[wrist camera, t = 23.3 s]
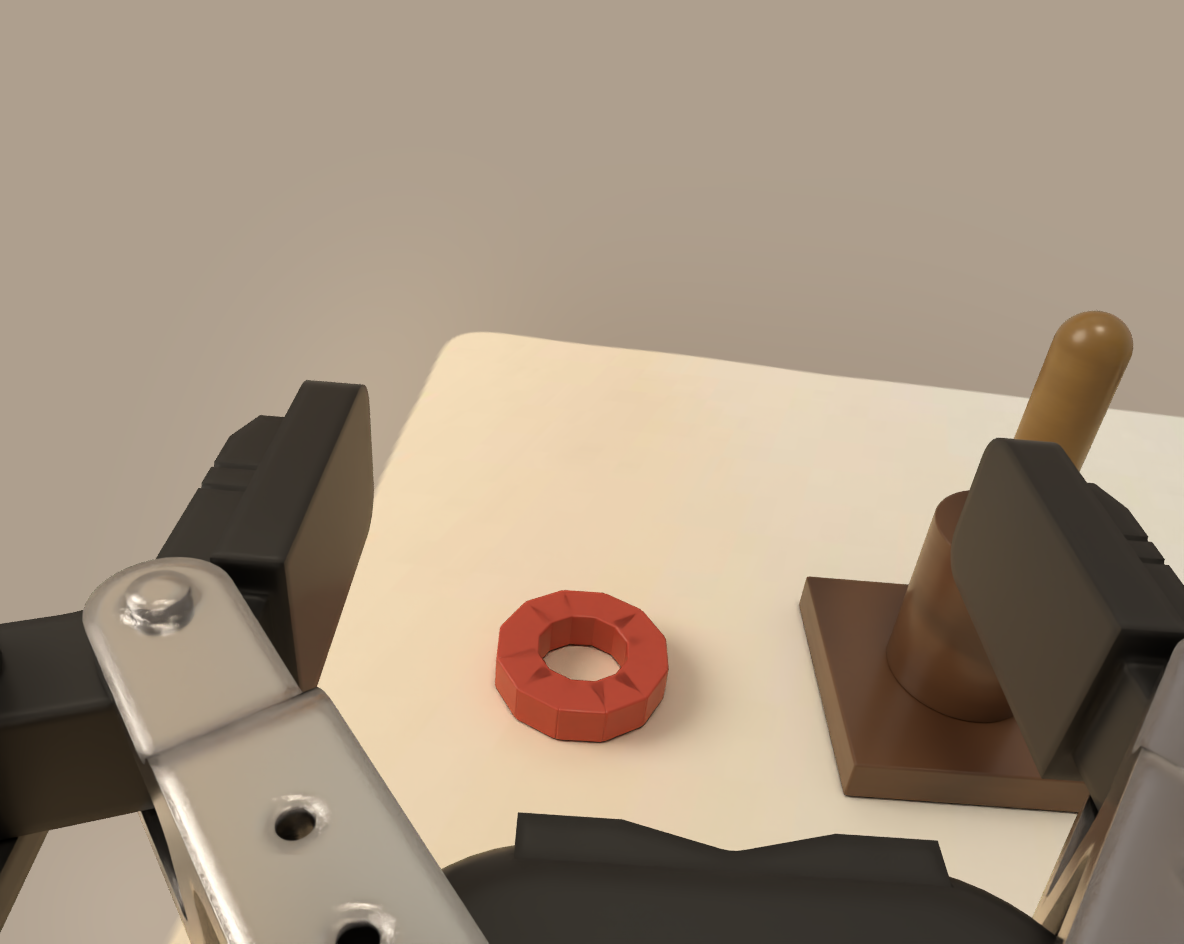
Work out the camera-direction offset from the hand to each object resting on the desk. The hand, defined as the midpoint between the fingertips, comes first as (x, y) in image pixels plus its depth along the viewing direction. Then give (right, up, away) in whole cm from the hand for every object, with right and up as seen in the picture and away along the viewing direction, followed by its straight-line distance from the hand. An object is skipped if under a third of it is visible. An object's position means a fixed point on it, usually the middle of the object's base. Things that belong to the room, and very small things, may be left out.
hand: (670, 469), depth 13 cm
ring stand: (+11, -8, +22) cm, 26 cm away
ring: (-1, -7, +21) cm, 22 cm away
